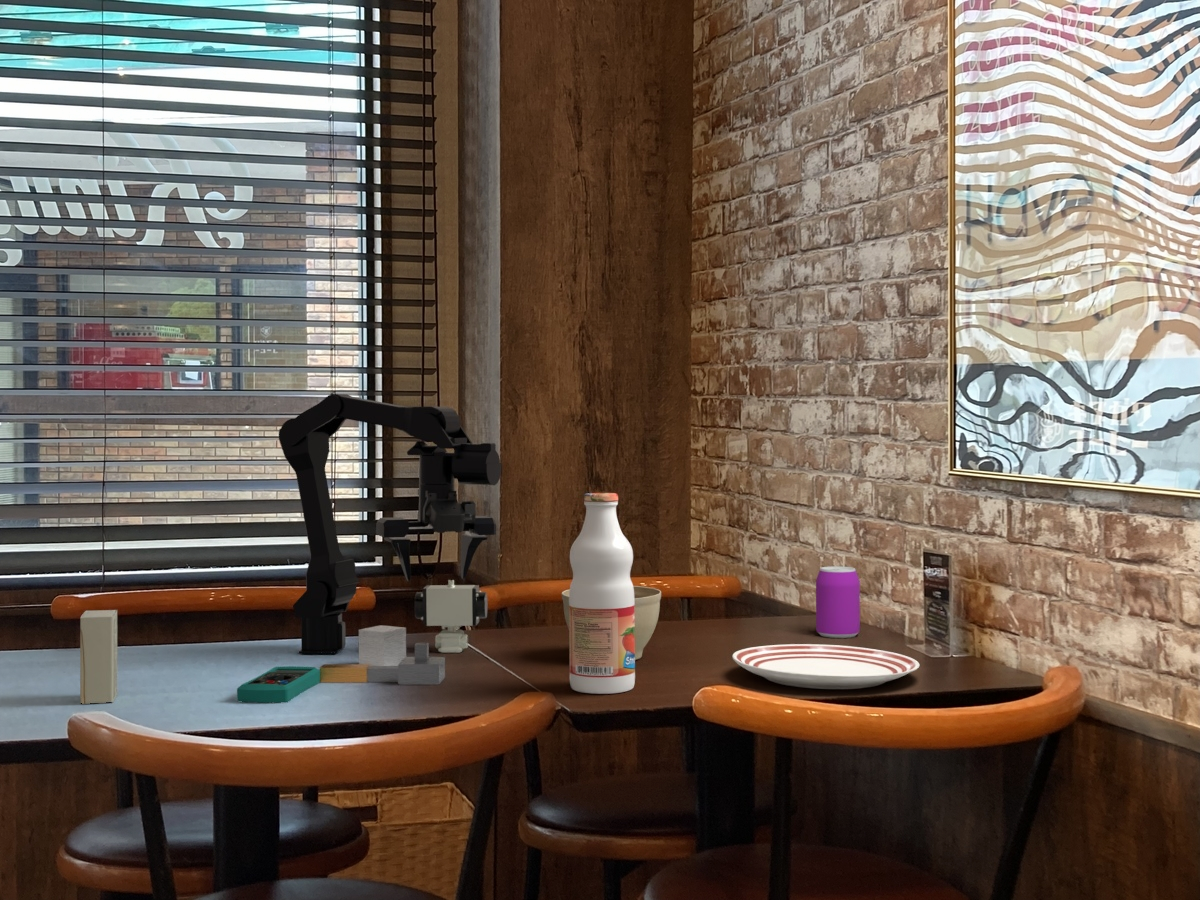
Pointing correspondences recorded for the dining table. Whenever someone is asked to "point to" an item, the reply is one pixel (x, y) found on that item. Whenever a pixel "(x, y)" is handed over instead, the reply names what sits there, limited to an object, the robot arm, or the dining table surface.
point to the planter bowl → (636, 614)
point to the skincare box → (98, 656)
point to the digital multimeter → (279, 684)
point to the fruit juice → (601, 602)
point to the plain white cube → (382, 645)
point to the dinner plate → (824, 665)
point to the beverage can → (837, 602)
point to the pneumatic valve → (451, 612)
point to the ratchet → (391, 670)
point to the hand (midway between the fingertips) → (436, 579)
